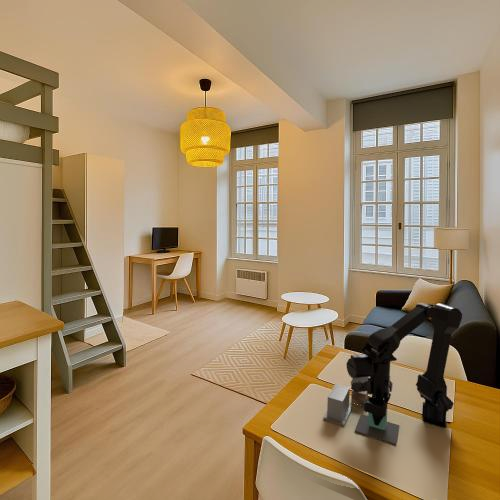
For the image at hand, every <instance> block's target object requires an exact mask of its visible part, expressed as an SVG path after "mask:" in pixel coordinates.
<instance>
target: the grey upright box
mask: <svg viewBox="0 0 500 500" xmlns="http://www.w3.org/2000/svg"><path fill="white" fill-rule="evenodd" d="M350 390H351V386H350V387H349V386H345V385H341V384H337V383H335V384H334V386H333V388H332V389H331V391H330V392H329V395H328V396H327V404H326V405H327V408H326V412H325V413H324V416H323V419H322V420H323V421H327V422H330V423H333V424H336V425H338V426H340V427H346V423H347V422H348V419H349V416H350V415H349V414H351V412H352V410H351V409H353V404H350V393H351V391H350Z"/></svg>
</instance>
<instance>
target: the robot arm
mask: <svg viewBox="0 0 500 500" xmlns="http://www.w3.org/2000/svg"><path fill="white" fill-rule="evenodd" d="M429 319H430V322H431V325H432V327H433V335H432V340H431V346H430V351H429V356H428V362H427V365H426V366H427V367H426V370H425V372H424V373H422V374H418V375H417V379H416V380H417V381H416V383H415V386H416V390H417V393H419V397H420V398H422V399H424V401H423V402H422V410H421V411H422V413H421V417H422V419H423V423H425V424H429V425H432V426H436V427H440V428H443V429H446V428H447V412H449V410H452V409H453V407H454V402H453V400H451V398H449V397H448V393H447V392H448V386H447V383H446V381H445V377H444V376H445V371H446V365H447V360H448V356H449V349H450V345H451V339H452V335H453V334H454V333H455V332H456V331H457V330H458V329H459V328H460V325H461V323H462V319H463V313H462V312H461V310H460V309H459V308H457V307H453V306H450V305H449V304H448V305H447V304H445V303H441V302H440V303H436V304H431V303H425V302H418V303H417V304H416V305H415V307H414V308H413V309H411V310H410V311H408V312H407V313H406V314H405V315H403V316H402V317H400V319H398V320H397V321H396V322H394V323H393V324H392V325H389V326H388V327H386V328H385V327H384V328H380V329H378V330H377V331H374V332H372V333H371V334H370V335H369V337H368V340H367V341H366V343H365V344H364V345H363V347H362V348H361V350H360V352H361V353H362V354H351V355H350V358H348V359H347V362H346V369H347V374H348V375H349V377H350V378H351V381H350V390H351V391H352V390H353V391H354V392H355V393H357V392H364V391H367V394H368V395H369V396H368V398H366V399H365V402H364V407H363V411H364V412H365V413H368V412H369V413H372V416H373V420H374V424H375V425H377V426H378V425H379V424H380V422H381V420H382V419H383V417H385V416H386V413H387V414H388V409H389V408H388V403H389V402H390V399H391V396H392V394H391V393H392V391H393V382H392V381H391V375H390V374H391V362H394V361H395V362H396V361H397V360H398V358H396V356H395V355H394V353H395V352H396V351H397V350H398V348H400V344H401V341H402V340H403V339H405V337H407V336H408V335H409V334H410V333H412V332H414V330H416V329H418V327H420V326H421V325H422V324H424V323H425V322H426V321H427V320H429ZM372 350H373V351H374V352H373V351H372ZM370 395H371V396H370Z"/></svg>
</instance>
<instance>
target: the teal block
mask: <svg viewBox="0 0 500 500" xmlns="http://www.w3.org/2000/svg"><path fill="white" fill-rule="evenodd" d="M367 413H368V414H367V416H368V425H369V426H372V427H375V428H379V429H382V430H385V428H386V423H387V422H388V421H387V420H388V412H387V413H386V416H385V417H383V419H382V420H381V422H380V424H379V425H378V426H377V425H375V424H374V420H373V416H372V413H369V412H367Z"/></svg>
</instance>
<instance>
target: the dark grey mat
mask: <svg viewBox="0 0 500 500" xmlns="http://www.w3.org/2000/svg"><path fill="white" fill-rule="evenodd" d="M399 429H400V424H396V423H393V422H390V421H387V423H386V428H385V430H382V429H379V428H375V427H372V426H369V425H368V414H367V415H366V414H364V413H360V416H359V418H358V421H357V424H356V426H355V429H354V433H357V434H360V435H363V436H366V437H369V438H372V439H374V440H375V439H376V440H378V441H381V442H384V443H387V444H390V445H393V446H397V442H398V436H399Z"/></svg>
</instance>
